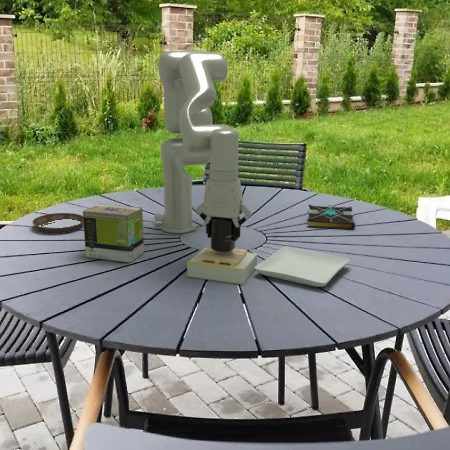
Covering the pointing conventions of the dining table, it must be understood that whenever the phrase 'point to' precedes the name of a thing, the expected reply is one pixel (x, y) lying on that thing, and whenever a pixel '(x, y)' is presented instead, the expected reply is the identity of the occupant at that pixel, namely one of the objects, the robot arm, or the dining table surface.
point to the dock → (222, 265)
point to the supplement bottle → (222, 234)
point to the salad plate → (302, 266)
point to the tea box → (113, 232)
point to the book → (331, 217)
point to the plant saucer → (53, 217)
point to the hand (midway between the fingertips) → (223, 237)
